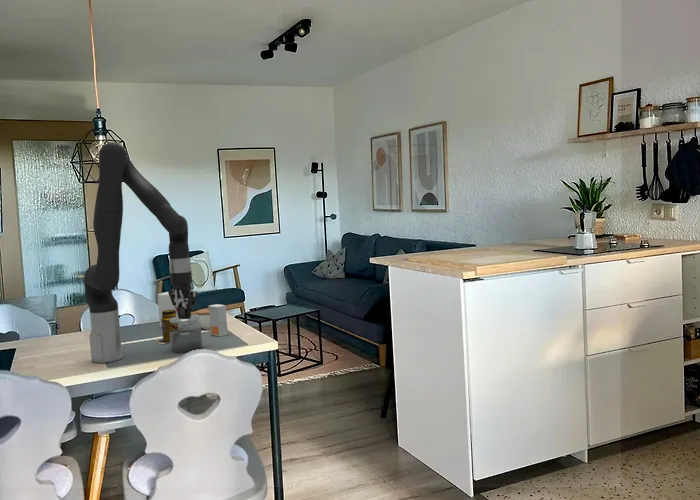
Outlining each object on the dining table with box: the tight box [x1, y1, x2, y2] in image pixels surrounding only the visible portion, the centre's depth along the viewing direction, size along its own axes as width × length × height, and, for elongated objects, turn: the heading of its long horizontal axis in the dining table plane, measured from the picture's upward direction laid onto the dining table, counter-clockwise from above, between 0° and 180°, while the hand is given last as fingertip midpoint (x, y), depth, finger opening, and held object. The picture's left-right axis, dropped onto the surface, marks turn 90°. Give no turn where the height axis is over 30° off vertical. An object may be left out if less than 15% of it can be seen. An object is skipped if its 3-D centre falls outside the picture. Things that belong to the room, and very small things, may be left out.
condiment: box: [155, 310, 179, 345], centre depth 237 cm, size 7×8×12 cm
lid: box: [170, 306, 200, 323], centre depth 221 cm, size 11×11×5 cm
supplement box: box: [157, 291, 190, 329], centre depth 267 cm, size 9×9×15 cm
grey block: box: [170, 326, 203, 354], centre depth 222 cm, size 11×11×7 cm
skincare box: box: [208, 303, 228, 338], centre depth 243 cm, size 6×4×12 cm
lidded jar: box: [196, 305, 211, 331], centre depth 258 cm, size 11×11×9 cm
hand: (184, 317), depth 221 cm, fingers closed on lid, 3 cm apart
